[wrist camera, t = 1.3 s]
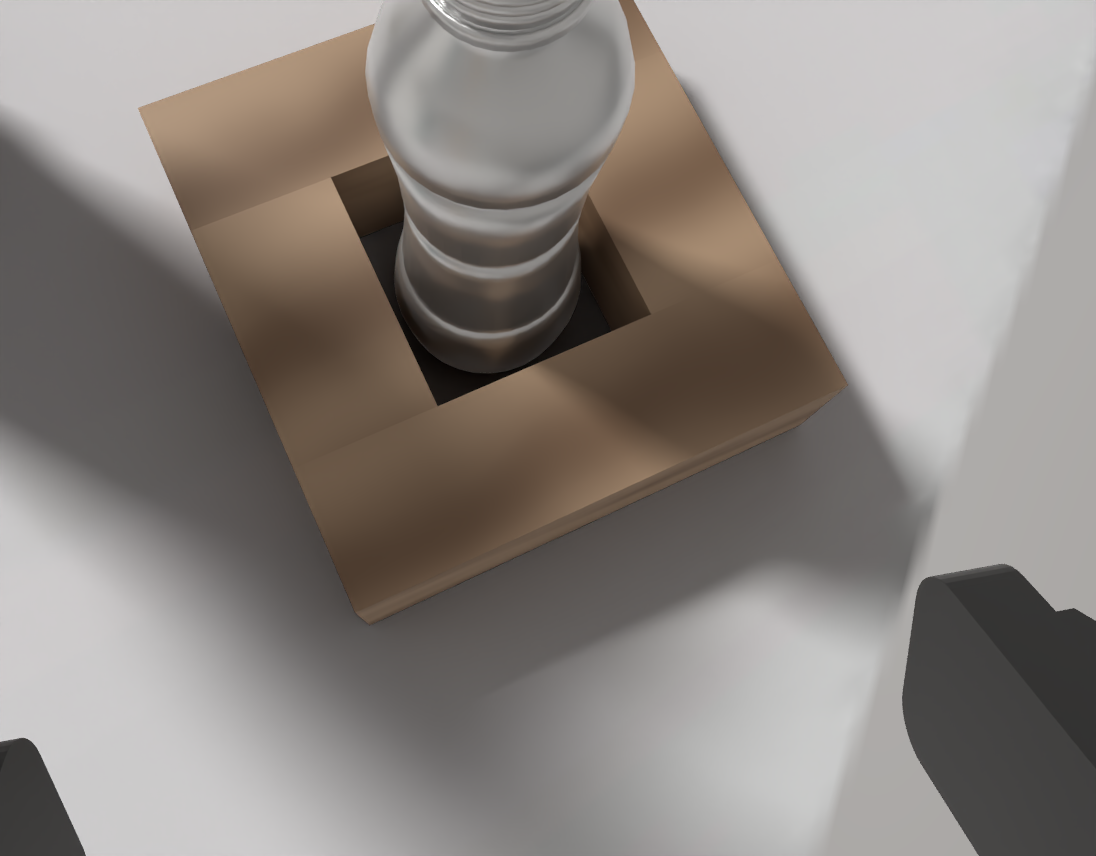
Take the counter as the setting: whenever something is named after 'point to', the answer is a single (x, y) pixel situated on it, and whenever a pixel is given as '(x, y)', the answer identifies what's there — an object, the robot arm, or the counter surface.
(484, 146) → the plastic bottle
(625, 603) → the counter surface
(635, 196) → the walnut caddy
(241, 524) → the counter surface
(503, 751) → the counter surface
